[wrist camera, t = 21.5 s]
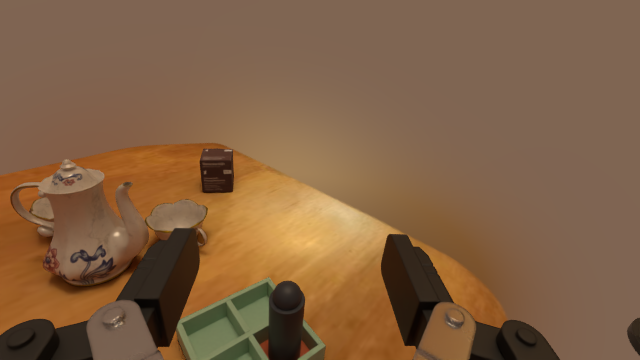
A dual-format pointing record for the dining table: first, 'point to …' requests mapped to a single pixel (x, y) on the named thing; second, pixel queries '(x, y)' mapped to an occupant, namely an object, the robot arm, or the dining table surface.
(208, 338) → the grid
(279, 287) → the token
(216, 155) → the box
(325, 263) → the dining table surface
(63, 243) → the chinaware
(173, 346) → the dining table surface
